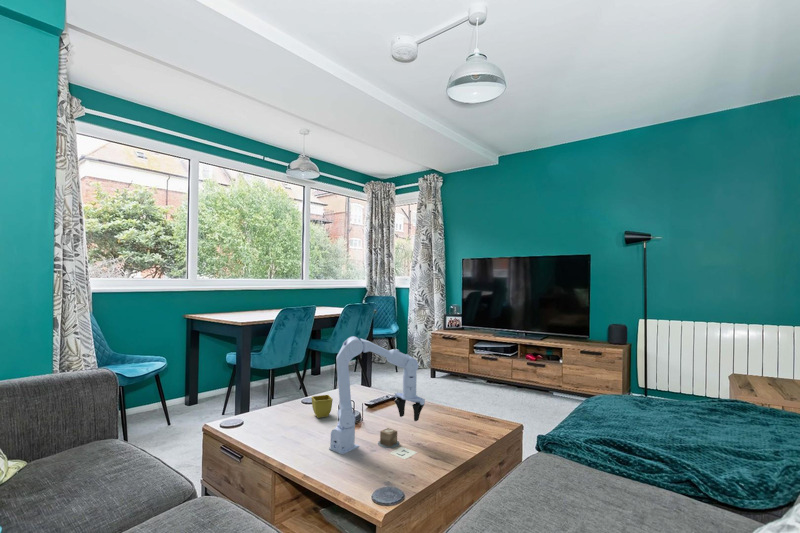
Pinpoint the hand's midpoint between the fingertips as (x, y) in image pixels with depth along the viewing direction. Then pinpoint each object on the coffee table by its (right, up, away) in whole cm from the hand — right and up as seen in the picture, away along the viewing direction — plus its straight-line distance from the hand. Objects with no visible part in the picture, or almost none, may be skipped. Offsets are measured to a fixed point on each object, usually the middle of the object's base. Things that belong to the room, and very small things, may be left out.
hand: (409, 418), depth 167 cm
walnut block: (-8, -9, -3) cm, 13 cm away
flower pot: (-43, -10, +30) cm, 53 cm away
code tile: (-3, -10, -11) cm, 15 cm away
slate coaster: (-8, -10, -3) cm, 13 cm away
